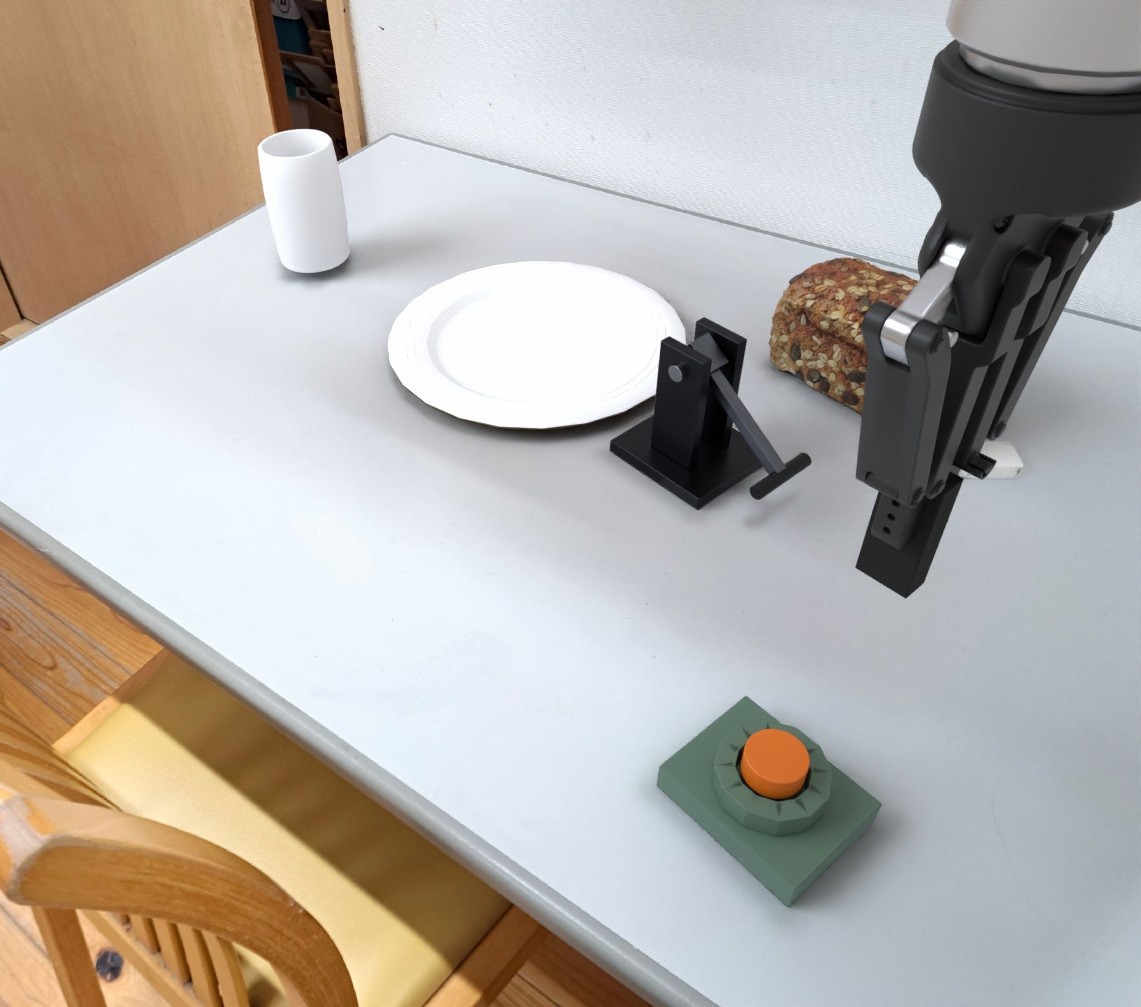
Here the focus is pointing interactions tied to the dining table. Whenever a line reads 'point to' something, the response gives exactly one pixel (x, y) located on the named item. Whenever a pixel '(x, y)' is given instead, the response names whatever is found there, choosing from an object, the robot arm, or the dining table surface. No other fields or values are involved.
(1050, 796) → the dining table surface
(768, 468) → the lever
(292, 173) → the cup
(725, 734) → the control block
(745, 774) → the button
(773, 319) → the bread
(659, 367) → the bracket
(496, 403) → the plate
